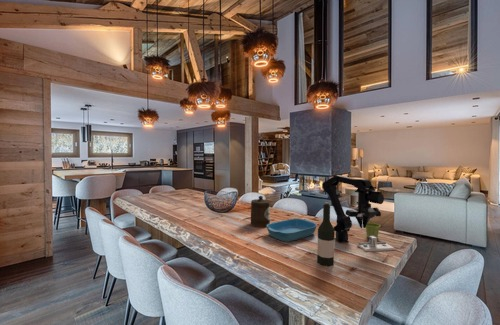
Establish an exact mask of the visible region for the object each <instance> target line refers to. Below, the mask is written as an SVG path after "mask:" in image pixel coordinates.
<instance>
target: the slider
mask: <svg viewBox="0 0 500 325" xmlns="http://www.w3.org/2000/svg"><path fill="white" fill-rule="evenodd" d="M368 242H369V245H370V246H372V247H373V246H377V242H378V238H376V237H374V236H369V238H368Z"/></svg>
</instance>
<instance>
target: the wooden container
mask: <svg viewBox="0 0 500 325" xmlns="http://www.w3.org/2000/svg"><path fill="white" fill-rule="evenodd" d="M263 198H264V196H262V195H260V196H258V198H257V199H251V202H250V203H251V204H250V205H251V206H250V226H253V227H255V228H256V227H257V228H267V224H270V223H271V200H269V199H263Z"/></svg>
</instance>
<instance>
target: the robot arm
mask: <svg viewBox="0 0 500 325" xmlns="http://www.w3.org/2000/svg"><path fill="white" fill-rule="evenodd" d="M340 183H341V184H342V183H343V184H346V185H350V186H354V188H356V189H355V190H354V193H358V194H357V201H356V204H357V208H356V210H353V209H346V210H345V212H344V209H343V206H342V204H341V201H340V199H339V197H338V194H337V191H338V190H337V186H338V185H339V184H340ZM321 185H322V186H321V187H322V189H323V190H324V193H326V195H328V197H329V199H330V202H331V204H332V207H333V210H334V212H335V215H336V225H335V226H333V228H334V230H335V231H334V232H335V237H334V241H337V242H338V243H350V241H349V231H350V230H351V228H352V226H353V224H352V223H353V221H352V220H351V218H355V219H356V220H357V223H358V225H359V228H361V229H363V228H364V229H366V225H367V223H369V221H370V220H371V219H373V218H375V217H382V212H381V211H380V209H379V208H378V207H372V206H371V203H373V204H377V205H382V204H383V203H384V201H385V197H384V194H383V193H382V191H379V190H376V189H375V187H374V186H373V184H372V181H371V180H370V179H369V178H353V177H349V176H345V175H340V174H337V175H336V174H335V175H333V176H332V177H330V178H329V179H327V180H325V181H323V183H322V184H321Z"/></svg>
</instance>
